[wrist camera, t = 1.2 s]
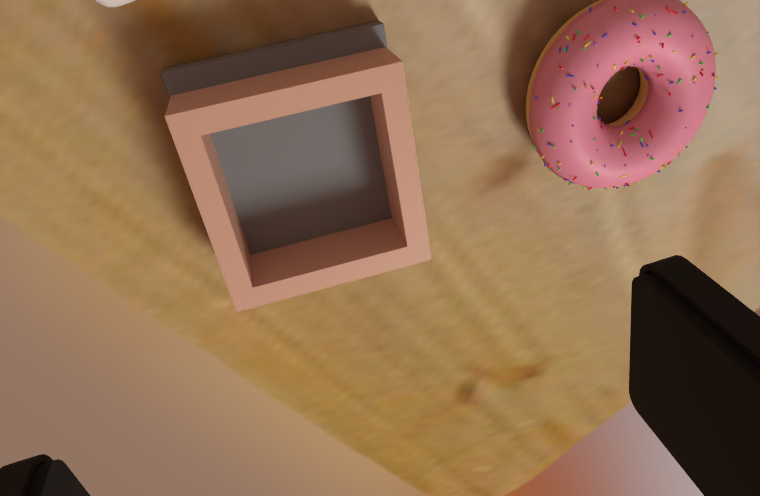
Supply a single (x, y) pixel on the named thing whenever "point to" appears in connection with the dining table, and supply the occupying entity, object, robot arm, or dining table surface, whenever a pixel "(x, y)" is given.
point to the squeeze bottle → (114, 2)
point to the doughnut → (596, 66)
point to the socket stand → (301, 162)
